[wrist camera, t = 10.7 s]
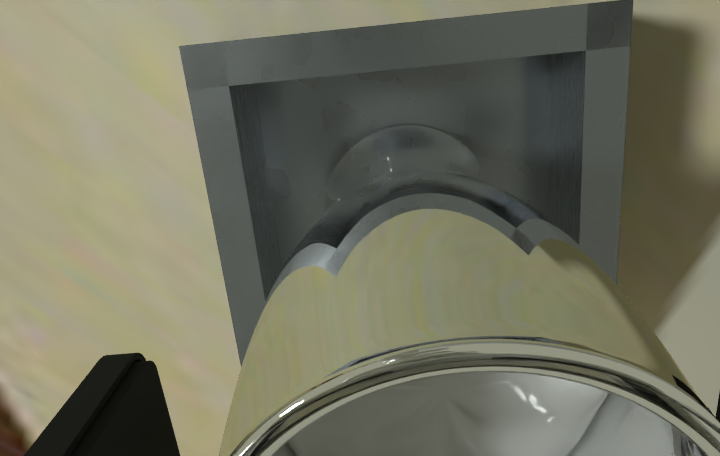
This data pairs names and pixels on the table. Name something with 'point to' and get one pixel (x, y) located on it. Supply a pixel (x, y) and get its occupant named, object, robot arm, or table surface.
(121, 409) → the robot arm
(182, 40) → the table surface
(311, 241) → the beer glass
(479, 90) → the grey tray
